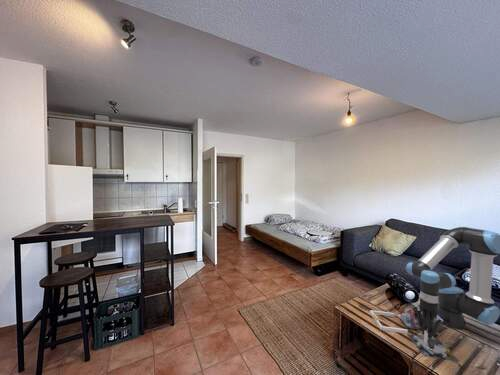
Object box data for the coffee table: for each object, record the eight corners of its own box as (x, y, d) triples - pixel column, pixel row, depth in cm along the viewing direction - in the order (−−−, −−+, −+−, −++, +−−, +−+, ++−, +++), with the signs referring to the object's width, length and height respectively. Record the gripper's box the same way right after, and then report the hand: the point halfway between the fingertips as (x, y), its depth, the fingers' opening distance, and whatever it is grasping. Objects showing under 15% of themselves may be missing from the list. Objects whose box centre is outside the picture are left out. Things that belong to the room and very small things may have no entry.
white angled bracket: (393, 316, 139) (393, 311, 139) (408, 334, 122) (408, 328, 122) (369, 313, 142) (369, 308, 142) (380, 330, 125) (380, 325, 125)
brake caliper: (428, 330, 123) (414, 312, 125) (410, 337, 126) (397, 320, 127) (418, 318, 134) (405, 302, 136) (402, 325, 137) (390, 309, 138)
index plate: (437, 339, 119) (437, 337, 119) (459, 362, 104) (459, 361, 104) (406, 335, 122) (406, 333, 122) (424, 357, 106) (424, 355, 106)
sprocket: (414, 332, 124) (415, 322, 123) (449, 345, 113) (449, 335, 113) (412, 346, 112) (413, 335, 112) (451, 363, 102) (451, 351, 102)
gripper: (411, 295, 116) (409, 335, 116) (439, 308, 103) (437, 353, 104) (420, 292, 118) (418, 332, 119) (448, 305, 106) (446, 349, 106)
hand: (427, 342), depth 111 cm, fingers closed
